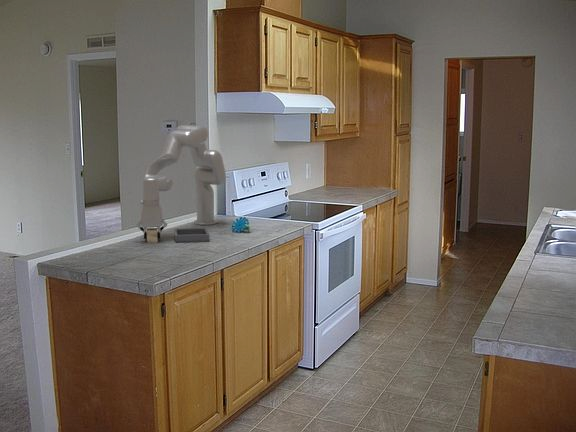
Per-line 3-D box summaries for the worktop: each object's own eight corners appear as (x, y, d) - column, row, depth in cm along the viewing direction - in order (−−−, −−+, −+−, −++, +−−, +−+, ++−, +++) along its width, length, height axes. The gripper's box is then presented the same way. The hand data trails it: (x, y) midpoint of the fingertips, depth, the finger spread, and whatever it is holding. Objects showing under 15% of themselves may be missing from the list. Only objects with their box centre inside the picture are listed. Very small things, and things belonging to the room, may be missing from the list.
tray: (174, 235, 314) (174, 229, 313) (206, 234, 317) (206, 228, 316) (175, 242, 298) (175, 235, 298) (209, 241, 302) (209, 234, 301)
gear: (227, 228, 326) (237, 213, 330) (231, 234, 330) (242, 220, 334) (242, 234, 320) (253, 219, 323) (247, 240, 324) (257, 225, 327)
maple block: (147, 240, 303) (146, 228, 302) (157, 240, 304) (157, 227, 303) (146, 242, 298) (146, 230, 297) (157, 242, 299) (157, 229, 298)
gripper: (132, 204, 292) (133, 242, 295) (169, 204, 296) (170, 241, 299) (133, 202, 299) (134, 239, 303) (169, 201, 303) (169, 238, 306)
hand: (152, 239), depth 301 cm, fingers closed on maple block, 5 cm apart
